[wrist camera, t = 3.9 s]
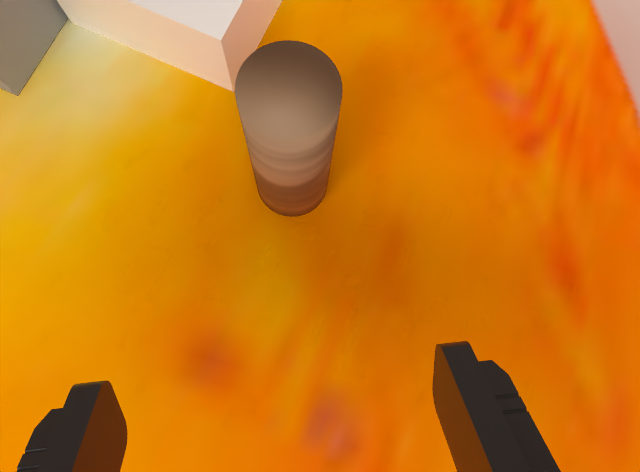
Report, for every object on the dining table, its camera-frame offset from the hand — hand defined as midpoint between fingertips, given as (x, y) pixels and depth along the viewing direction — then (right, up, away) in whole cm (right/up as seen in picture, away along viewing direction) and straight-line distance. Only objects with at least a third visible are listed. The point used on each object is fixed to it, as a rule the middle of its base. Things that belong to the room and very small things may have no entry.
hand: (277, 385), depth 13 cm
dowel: (-1, +7, +20) cm, 21 cm away
